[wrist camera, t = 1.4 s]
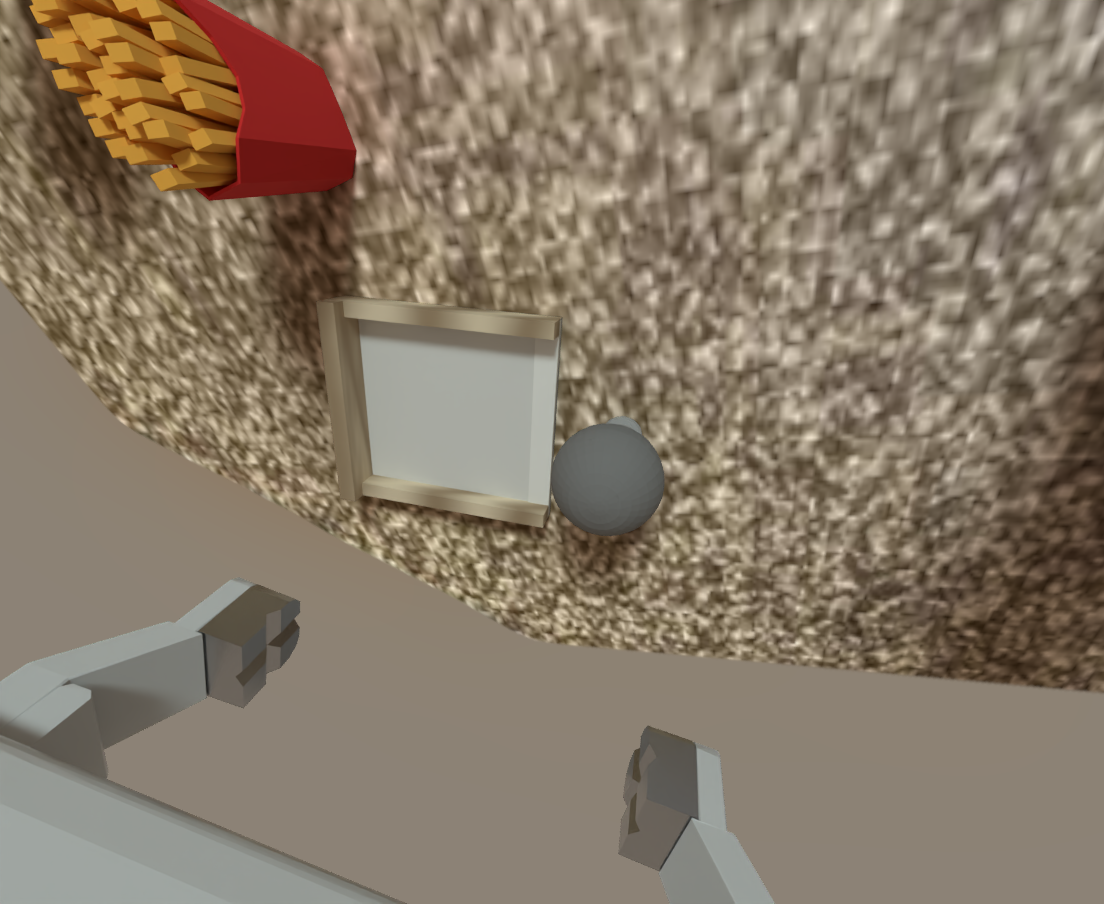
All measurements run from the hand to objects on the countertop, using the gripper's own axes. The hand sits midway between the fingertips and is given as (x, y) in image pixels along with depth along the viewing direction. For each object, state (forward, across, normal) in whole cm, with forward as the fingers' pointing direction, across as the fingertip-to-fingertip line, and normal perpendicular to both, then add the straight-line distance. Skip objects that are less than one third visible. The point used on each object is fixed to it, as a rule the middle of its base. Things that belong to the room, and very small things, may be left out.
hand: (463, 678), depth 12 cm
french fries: (+25, +21, -11) cm, 34 cm away
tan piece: (+24, +10, +5) cm, 27 cm away
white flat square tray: (+24, +10, +5) cm, 27 cm away
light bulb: (+24, -2, +2) cm, 25 cm away
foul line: (+24, +3, +4) cm, 25 cm away
